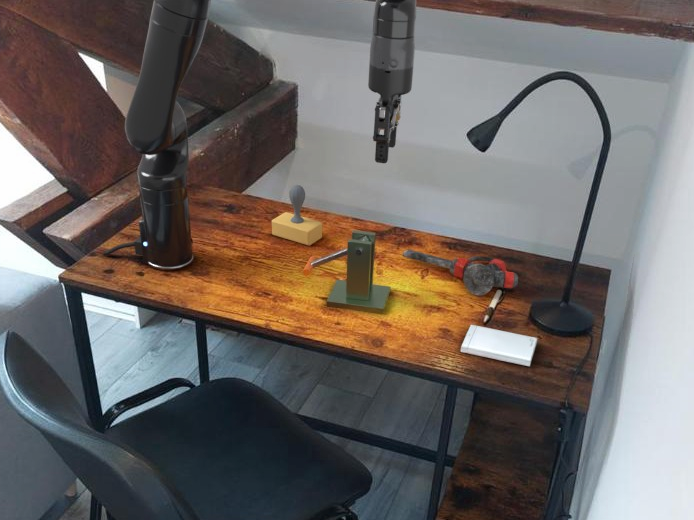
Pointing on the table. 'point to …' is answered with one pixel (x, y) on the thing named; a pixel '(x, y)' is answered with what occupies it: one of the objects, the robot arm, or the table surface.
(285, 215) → the rubber stamp
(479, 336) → the hard drive
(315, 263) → the lever
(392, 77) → the robot arm
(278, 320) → the table surface
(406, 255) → the valve
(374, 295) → the bracket
